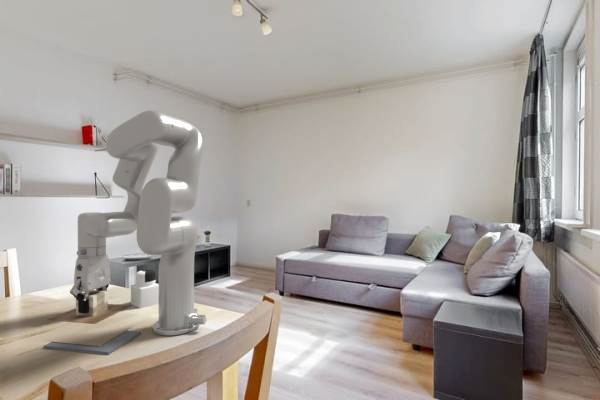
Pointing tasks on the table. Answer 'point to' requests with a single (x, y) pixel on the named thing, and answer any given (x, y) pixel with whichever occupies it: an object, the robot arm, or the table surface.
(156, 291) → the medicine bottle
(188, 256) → the robot arm
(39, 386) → the table surface
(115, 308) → the peg stand
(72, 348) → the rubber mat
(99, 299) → the ring block
